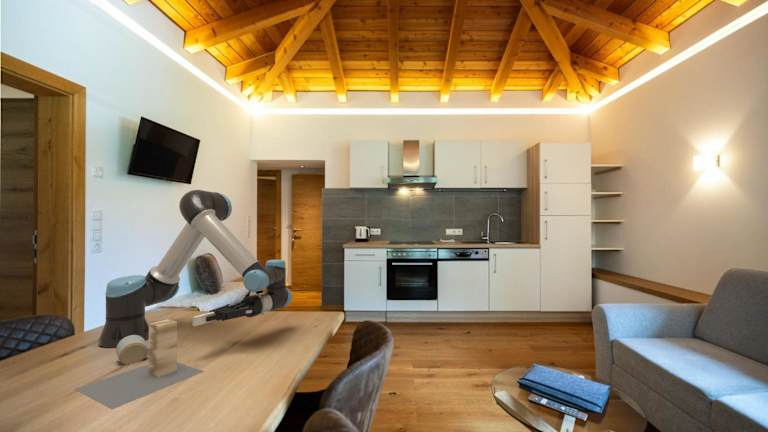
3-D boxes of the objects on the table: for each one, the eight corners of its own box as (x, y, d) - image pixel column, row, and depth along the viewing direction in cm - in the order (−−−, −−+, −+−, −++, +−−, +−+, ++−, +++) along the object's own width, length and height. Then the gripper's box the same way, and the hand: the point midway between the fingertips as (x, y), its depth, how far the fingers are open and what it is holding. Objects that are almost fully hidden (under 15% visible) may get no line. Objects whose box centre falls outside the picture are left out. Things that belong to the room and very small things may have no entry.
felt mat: (74, 392, 84) (74, 388, 84) (165, 361, 104) (165, 358, 104) (112, 413, 75) (112, 409, 75) (204, 374, 94) (204, 371, 94)
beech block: (148, 374, 93) (148, 323, 93) (166, 367, 97) (167, 319, 98) (158, 377, 90) (158, 326, 91) (176, 370, 95) (177, 321, 95)
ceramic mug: (118, 370, 98) (119, 343, 98) (115, 362, 104) (116, 337, 104) (160, 360, 105) (161, 336, 105) (155, 353, 111) (156, 330, 111)
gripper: (268, 317, 119) (207, 336, 99) (244, 313, 125) (181, 331, 105) (268, 296, 120) (207, 311, 99) (244, 293, 126) (181, 307, 105)
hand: (194, 321), depth 102 cm, fingers closed
